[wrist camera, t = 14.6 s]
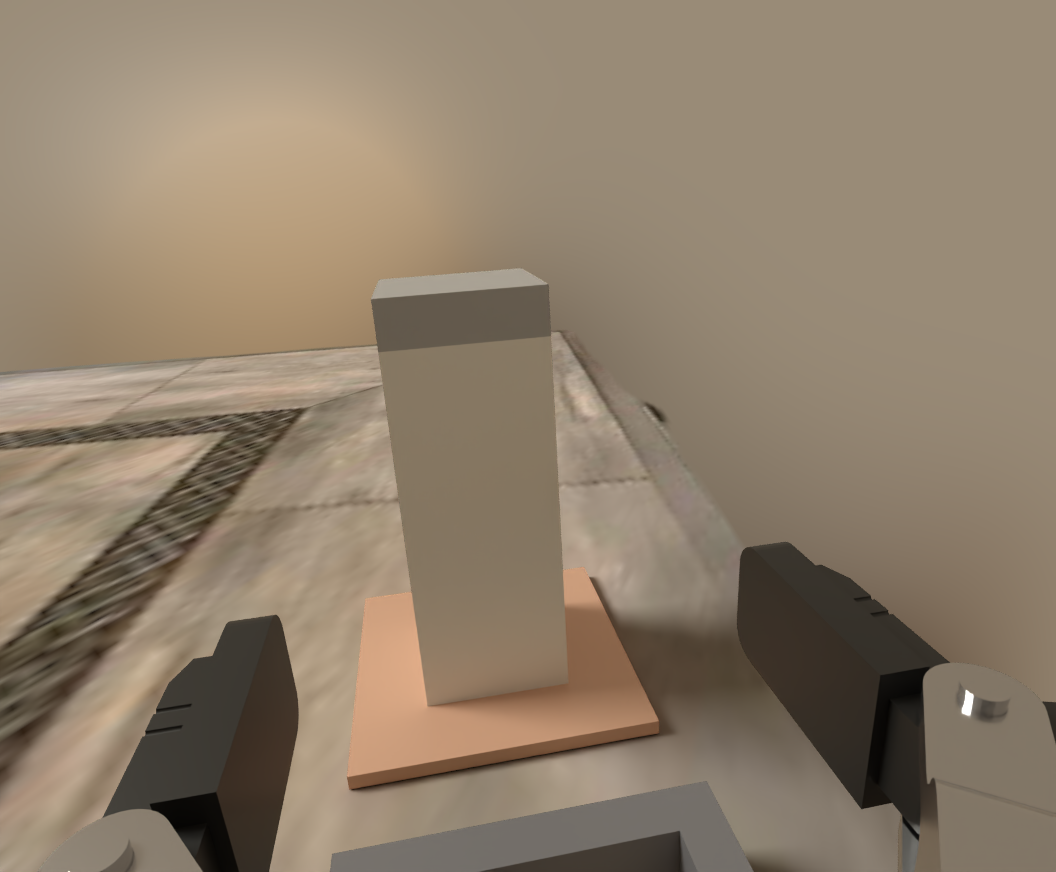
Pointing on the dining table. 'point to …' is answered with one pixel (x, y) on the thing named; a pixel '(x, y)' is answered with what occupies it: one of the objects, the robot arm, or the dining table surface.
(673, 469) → the dining table surface
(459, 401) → the block
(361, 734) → the coaster
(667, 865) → the charging dock
